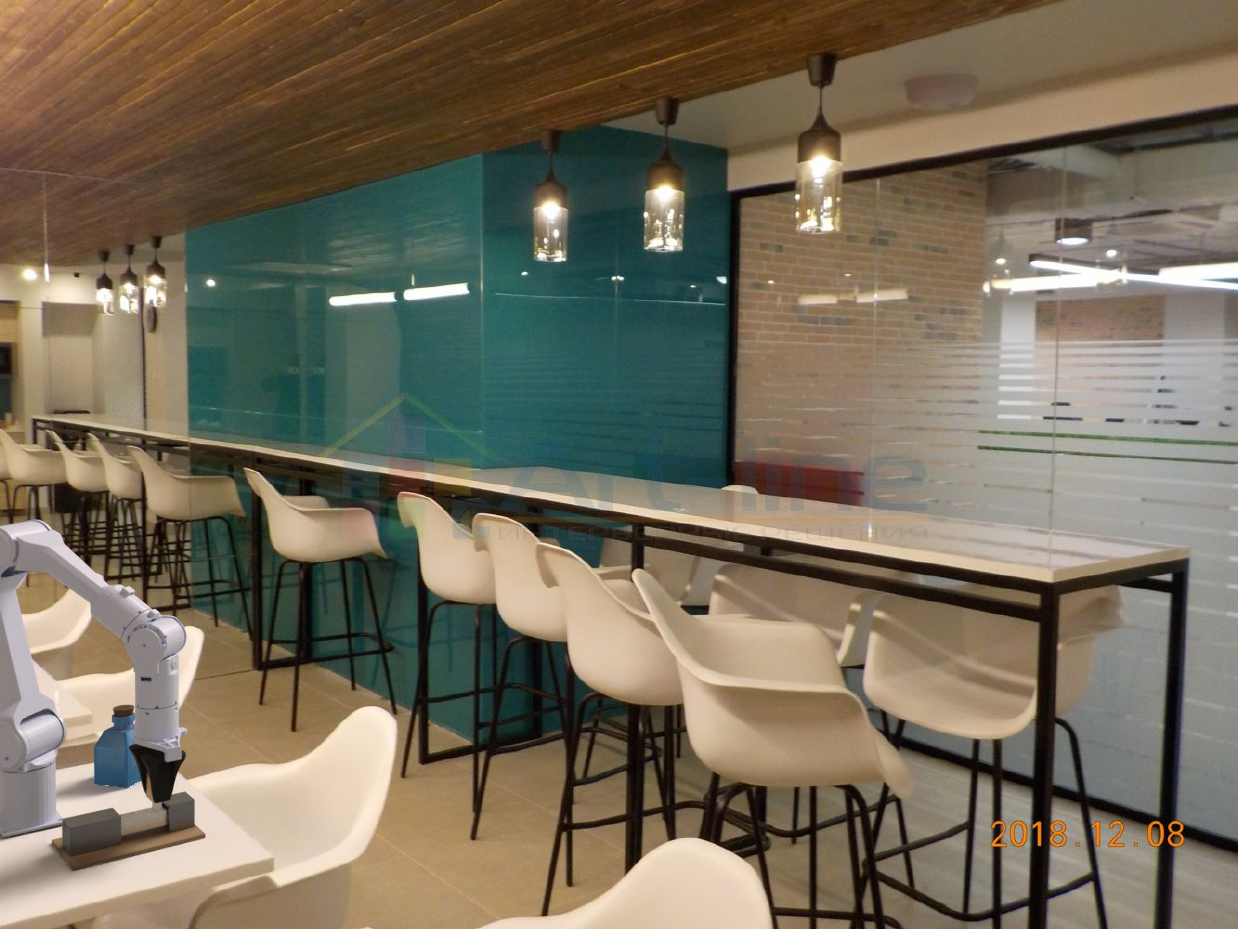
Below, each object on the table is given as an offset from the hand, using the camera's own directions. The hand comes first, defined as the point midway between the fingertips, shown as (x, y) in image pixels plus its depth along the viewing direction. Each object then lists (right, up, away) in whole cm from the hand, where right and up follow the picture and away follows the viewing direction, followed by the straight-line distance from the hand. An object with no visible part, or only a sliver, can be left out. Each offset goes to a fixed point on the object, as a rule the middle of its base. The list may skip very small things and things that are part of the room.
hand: (157, 796), depth 150 cm
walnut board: (-3, -6, -2) cm, 7 cm away
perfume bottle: (-15, -4, +21) cm, 26 cm away
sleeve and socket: (-3, -6, -2) cm, 7 cm away
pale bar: (-1, -4, -1) cm, 4 cm away
